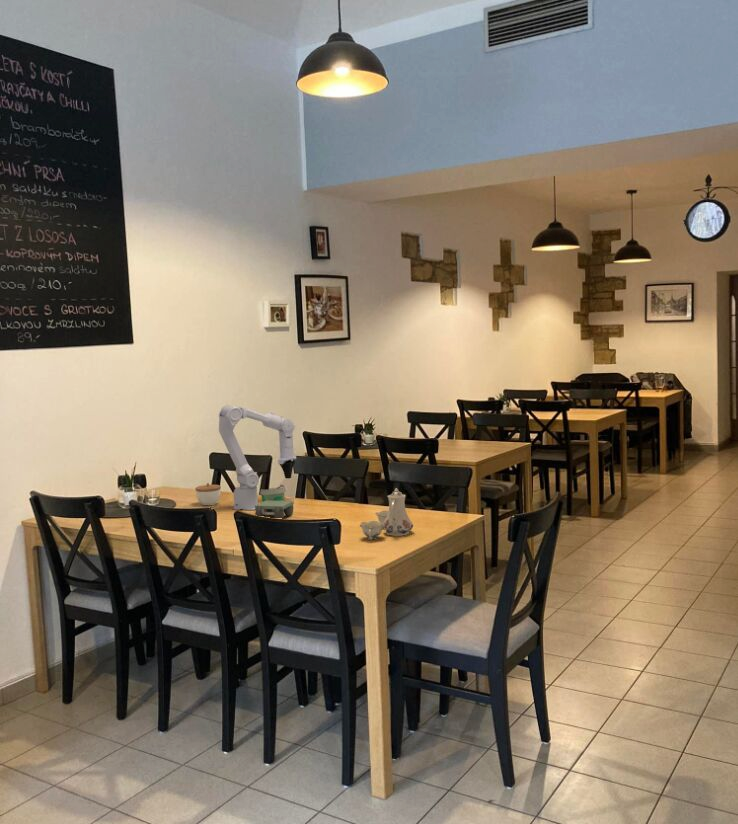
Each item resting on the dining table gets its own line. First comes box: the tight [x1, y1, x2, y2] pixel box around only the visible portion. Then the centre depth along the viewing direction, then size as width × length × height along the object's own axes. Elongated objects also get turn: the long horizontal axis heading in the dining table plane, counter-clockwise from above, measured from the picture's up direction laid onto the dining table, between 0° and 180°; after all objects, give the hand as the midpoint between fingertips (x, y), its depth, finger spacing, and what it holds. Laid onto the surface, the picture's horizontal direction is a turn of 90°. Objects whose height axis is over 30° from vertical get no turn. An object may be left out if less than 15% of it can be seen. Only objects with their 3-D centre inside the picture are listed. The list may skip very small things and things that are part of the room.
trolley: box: [254, 500, 294, 519], centre depth 318 cm, size 12×15×6 cm
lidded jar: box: [194, 482, 222, 506], centre depth 350 cm, size 11×11×9 cm
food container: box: [259, 484, 287, 512], centre depth 329 cm, size 12×6×10 cm, turn 142°
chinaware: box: [359, 487, 414, 541], centre depth 286 cm, size 28×17×17 cm, turn 166°
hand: (288, 478), depth 348 cm, fingers closed
